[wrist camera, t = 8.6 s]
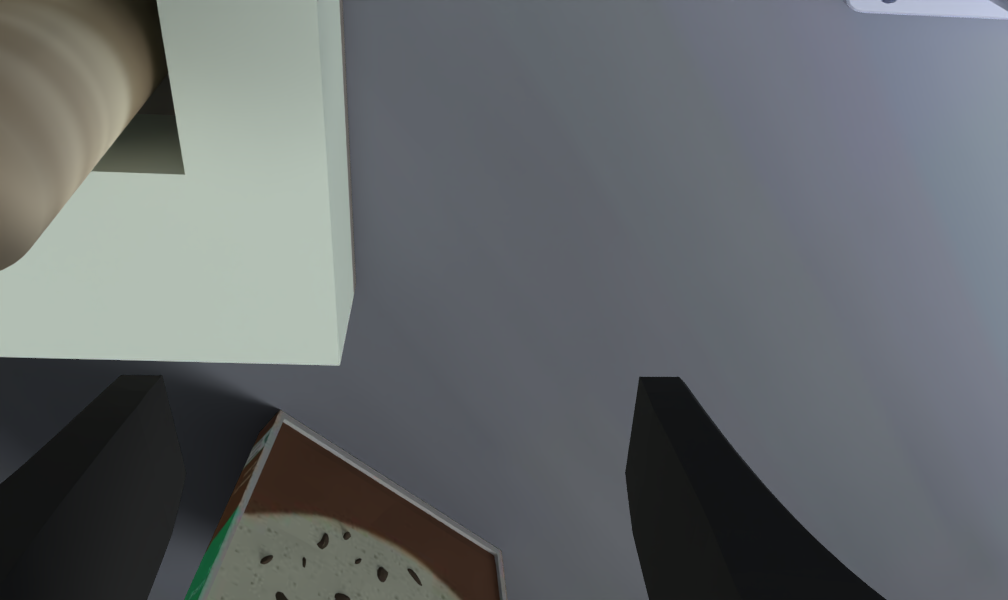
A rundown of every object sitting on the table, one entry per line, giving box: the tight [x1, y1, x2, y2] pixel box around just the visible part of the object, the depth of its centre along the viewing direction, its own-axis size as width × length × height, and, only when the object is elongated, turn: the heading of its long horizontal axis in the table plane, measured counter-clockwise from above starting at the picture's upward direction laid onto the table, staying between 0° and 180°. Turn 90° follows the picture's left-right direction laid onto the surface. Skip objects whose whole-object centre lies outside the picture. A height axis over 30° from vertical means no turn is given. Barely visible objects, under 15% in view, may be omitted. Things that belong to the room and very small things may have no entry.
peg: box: [0, 0, 168, 271], centre depth 16 cm, size 3×3×8 cm
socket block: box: [0, 0, 356, 365], centre depth 18 cm, size 10×14×4 cm
